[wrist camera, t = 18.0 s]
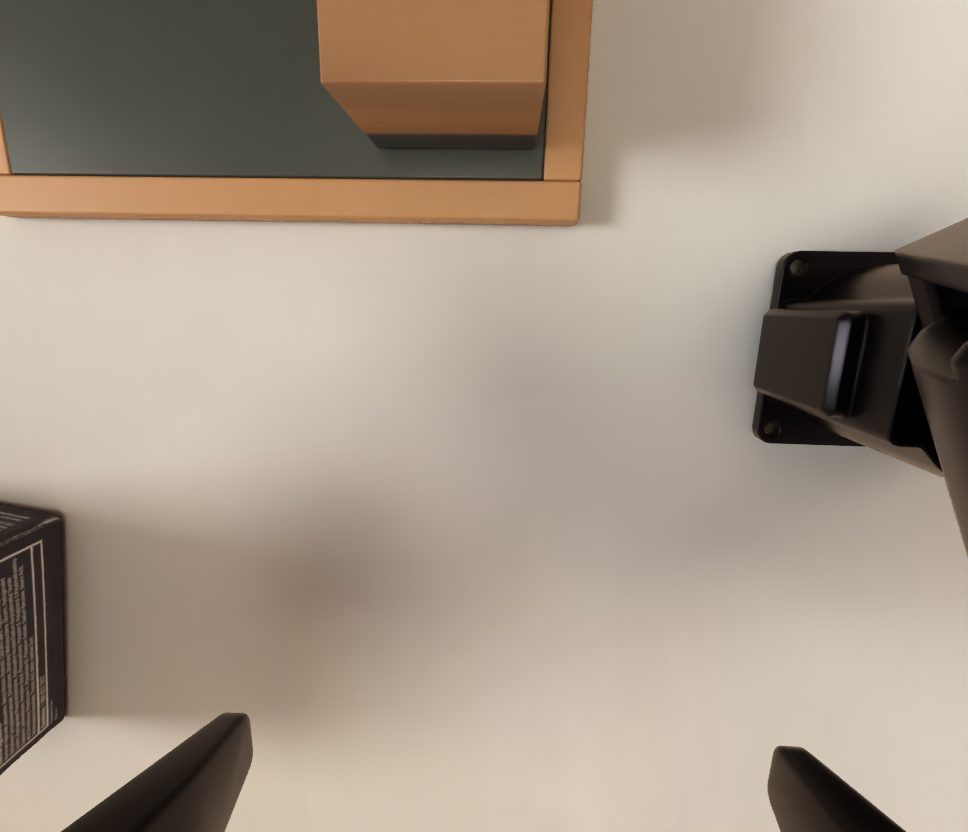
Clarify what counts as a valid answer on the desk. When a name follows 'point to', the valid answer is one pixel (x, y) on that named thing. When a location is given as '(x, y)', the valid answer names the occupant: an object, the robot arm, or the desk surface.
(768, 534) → the desk surface
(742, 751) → the desk surface
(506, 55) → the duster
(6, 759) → the small box
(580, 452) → the desk surface
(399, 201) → the chalkboard
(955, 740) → the desk surface
